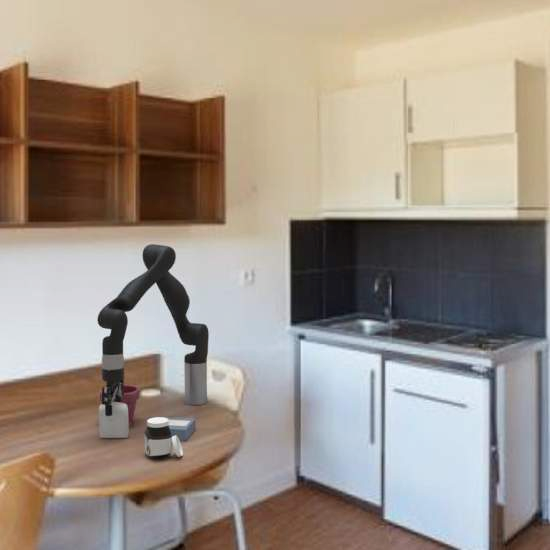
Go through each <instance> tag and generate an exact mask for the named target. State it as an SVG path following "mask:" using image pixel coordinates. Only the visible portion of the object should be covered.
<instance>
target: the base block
mask: <svg viewBox="0 0 550 550" xmlns="http://www.w3.org/2000/svg"><path fill="white" fill-rule="evenodd" d="M162 417H163V418H167V419H168V420H169V424H168V425H169V427H170V430H171V434H172V436H175V435H177V436H178V438H179V440H180V442H187V440H188V439H190V437H191V436H192V434H193V433H194V432H195V431H196V430H197V427H196V423H197V422H196V420H197V419H196V418H190V417H189V418H187V417H167V416H162Z"/></svg>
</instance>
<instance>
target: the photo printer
mask: <svg viewBox="0 0 550 550" xmlns="http://www.w3.org/2000/svg"><path fill="white" fill-rule="evenodd" d="M98 428H99V429H98V430H99V432H98V433H99V434H98V435H99V438H100V439H127V438H129V436H130V424H129V420H128V406H127V404H124V403H120V402H112V415H111V416H106V415H105V405H102V403H101V404H100V405H99V408H98Z"/></svg>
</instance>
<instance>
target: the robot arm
mask: <svg viewBox="0 0 550 550" xmlns="http://www.w3.org/2000/svg"><path fill="white" fill-rule="evenodd" d="M176 256H177V254H176V251H175V250H174V248H173V247H172V246H168V245H161V244H154V243H153V244H152V243H151V244H148V245H146V246H145V247H143V250H142V261H143V264H144V266H145V268H146V271H145V272H144V273H141V274H140V275H138V276H137V277H135V278H134V279H132V280H131V281H130V282H129V281H128V283H127V284H126V285H125V286H124V287H123V289H122V290H121V291H120V292H119V294H118V295H117V296H116V297H115V298H114V299H112V300H111V301H110V302H108V303H107V304H106V305H105V306H103V308H102V309H101V310H100V311H99V312H98V315H97V324H98V326H99V327H100V328H102V329H106V330H110V334H109V335H108V336H104V337H103V339H102V344H101V346H102V349H101V350H102V356H101V380H102V381H104V382H105V383H106V386H103V387H102V388H101V389H102V402H101V404H102V405H105V415H106V416H111V415H112V402H113V399H115V402H120V403H121V398H122V395H124V385H125V382H124V381H125V380H124V379H125V356H124V340H125V336H126V333H127V327H128V321H129V320H128V319H129V318H128V315H127V314H126V313H129V312H131V311H132V310H133V309H134V308H136V306H137V304H138V303H139V302H140V301H141V300H142V298H143V297H144V295H146V293H147V292H148V291H149V290H150V289H151V288H152V287H153V286H155V284H156V286H157V288H158V290H159V291H160V294H161V296H162V298H163V300H164V303H165V305H166V307H167V308H168V311H169V313H170V315H171V317H172V320H173V321H174V322H173V323H174V324H175V327H176V330H177V333H178V336H179V339H180V341H181V342H182V344H183V345H186V346H195V347H194V348H195V349H194V351H193V352H190V353H187V354H185V355H184V358H183V360H184V362H183V363H184V367H183V368H184V404H185V405H188V406H201V405H205V404H207V403H208V362H207V361H208V353H209V339H210V338H209V328H208V326H207V324H205V323H194V322H190V321H189V319H188V317H187V314H188V310H189V307H190V296H189V295H188V292H187V290H186V288H185V286H184V285H183V284H182V283H181V282H180V281H179V279H177V278H176V277H175V276H174V275H173V274H172V273H171V272H170V270H171V269H172V267H173V266H174V264H175V263H176V258H177V257H176ZM107 400H108V401H107Z"/></svg>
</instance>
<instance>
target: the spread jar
mask: <svg viewBox="0 0 550 550" xmlns="http://www.w3.org/2000/svg"><path fill="white" fill-rule="evenodd" d="M163 417H164V416H157V417H156V416H155V417H150V418H149V419H147V420H146V425H147V426H146V427H145V430H144V451H145V455H146V457H147V458H149V459H150V460H163V459H166V458H168V457H170V456H171V455H172V451H173V450H174V452H175V454H176V455H175V456H177V458H181V457H183V456H184V452H183V446H182V443H181V441H180V440H179V438H178V436H177V435H175V436H172V434H171V430H170V427H169V425H168V424H169V420H168V419H167V418H163Z"/></svg>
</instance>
